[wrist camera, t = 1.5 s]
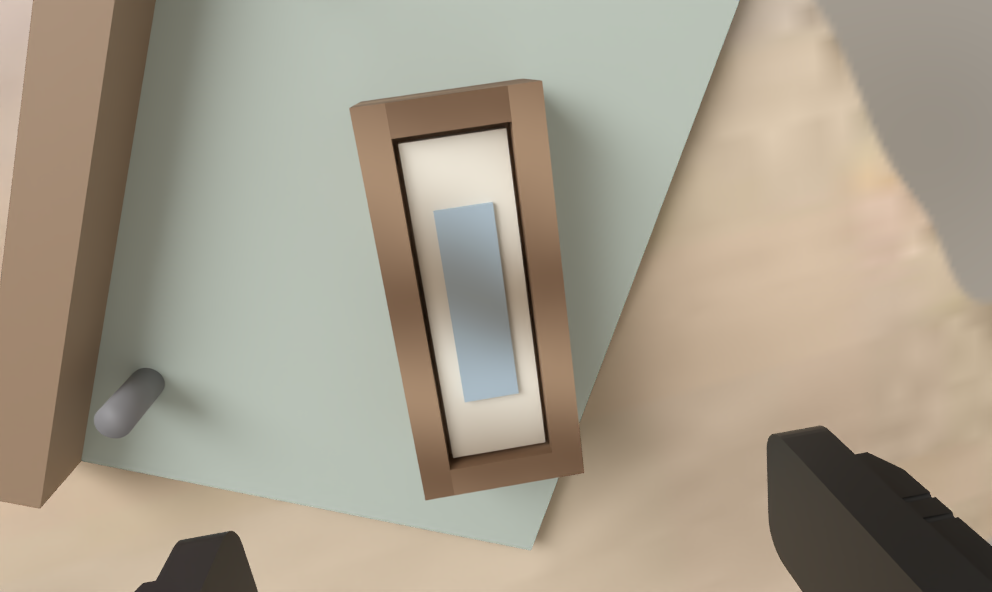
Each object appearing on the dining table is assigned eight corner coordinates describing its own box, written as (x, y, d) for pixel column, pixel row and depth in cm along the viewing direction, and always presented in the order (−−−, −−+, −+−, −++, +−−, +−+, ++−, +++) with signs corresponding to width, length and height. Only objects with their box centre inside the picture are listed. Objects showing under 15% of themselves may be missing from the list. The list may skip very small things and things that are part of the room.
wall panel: (527, 535, 31) (542, 601, 27) (38, 436, 27) (-25, 496, 23) (742, -38, 24) (802, -57, 20) (138, -272, 20) (73, -349, 17)
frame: (561, 417, 28) (584, 472, 24) (424, 441, 28) (425, 500, 24) (522, 78, 24) (542, 80, 20) (360, 101, 23) (349, 108, 20)
